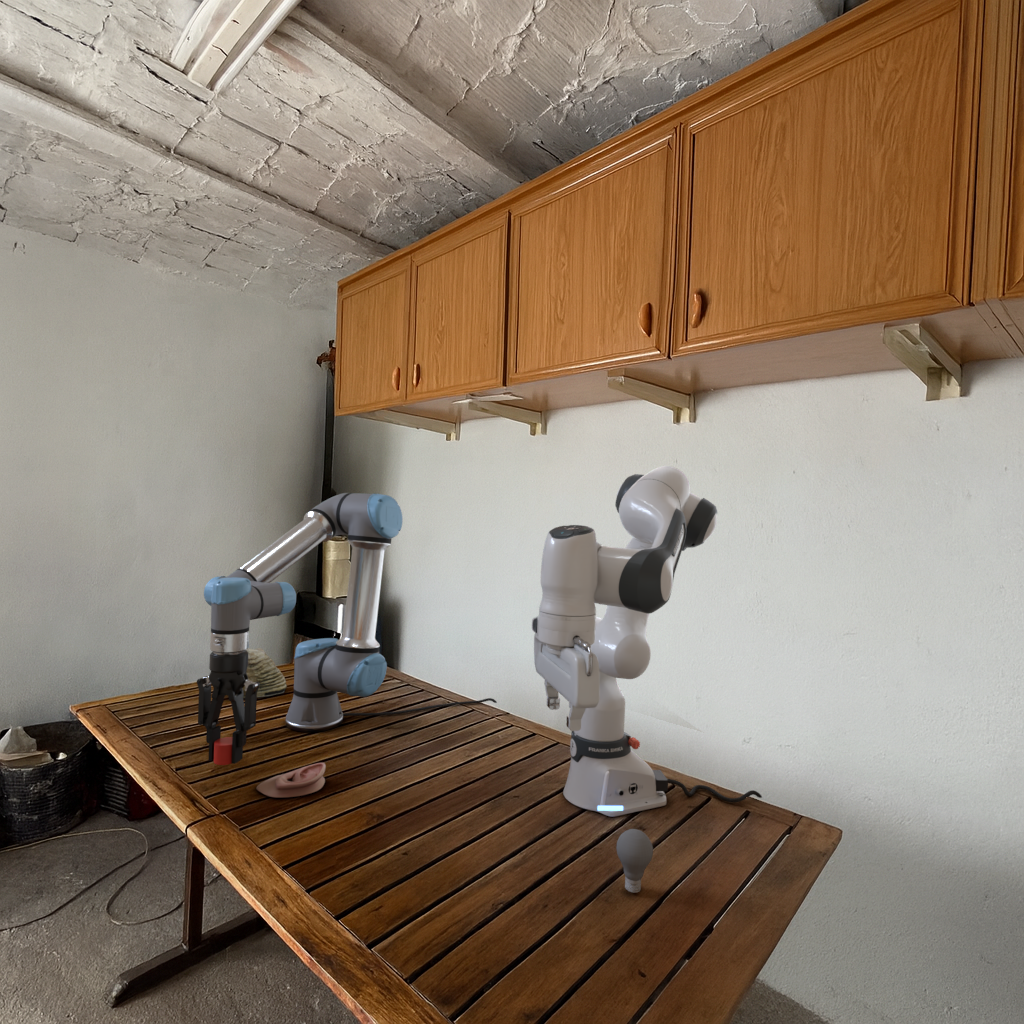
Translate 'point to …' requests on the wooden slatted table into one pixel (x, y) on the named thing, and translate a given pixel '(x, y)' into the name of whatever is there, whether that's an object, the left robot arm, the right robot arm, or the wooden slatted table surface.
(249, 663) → the fossil
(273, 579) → the left robot arm
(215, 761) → the red cylinder
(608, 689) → the right robot arm
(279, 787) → the anatomical model
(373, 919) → the wooden slatted table surface
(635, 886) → the light bulb
